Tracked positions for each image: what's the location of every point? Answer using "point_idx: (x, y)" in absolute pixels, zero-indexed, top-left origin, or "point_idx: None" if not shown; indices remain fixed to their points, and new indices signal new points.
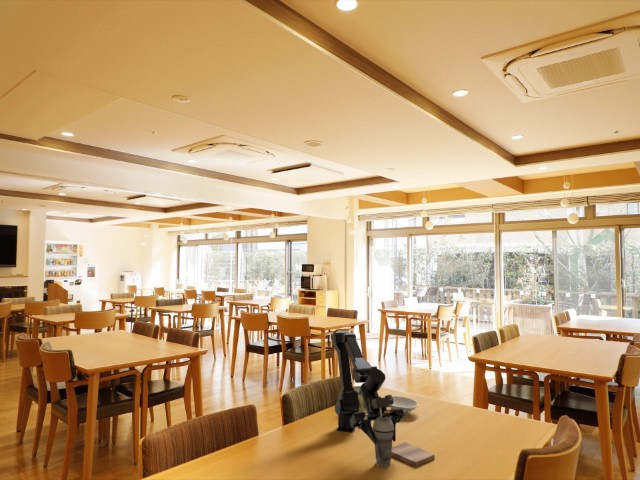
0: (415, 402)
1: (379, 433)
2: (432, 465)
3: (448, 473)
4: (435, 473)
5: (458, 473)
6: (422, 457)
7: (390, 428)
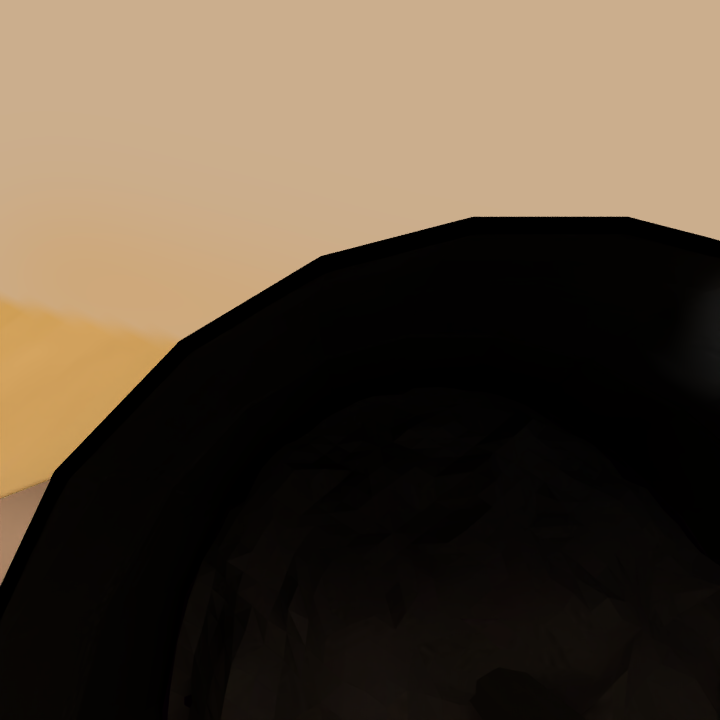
0: None
1: (639, 433)
2: (45, 442)
3: (56, 324)
4: (125, 341)
5: (5, 312)
6: (31, 514)
7: (357, 311)
